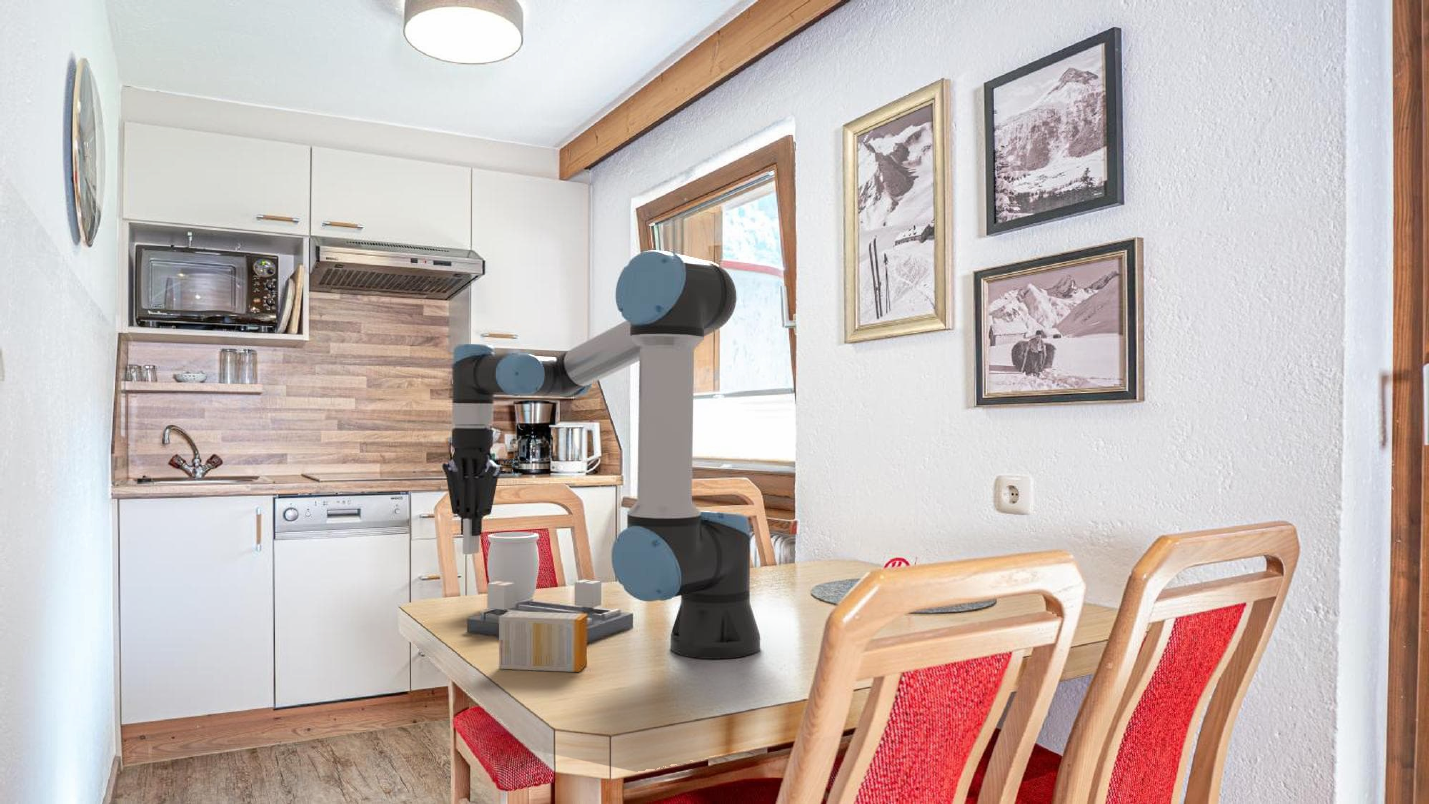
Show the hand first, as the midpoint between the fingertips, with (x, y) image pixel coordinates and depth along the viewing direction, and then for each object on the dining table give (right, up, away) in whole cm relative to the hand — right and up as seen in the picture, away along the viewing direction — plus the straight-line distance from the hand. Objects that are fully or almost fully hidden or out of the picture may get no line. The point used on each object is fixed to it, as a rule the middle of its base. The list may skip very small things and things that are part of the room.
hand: (470, 553), depth 174 cm
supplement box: (+26, -9, -30) cm, 41 cm away
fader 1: (+6, -11, -4) cm, 13 cm away
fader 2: (+22, -11, -2) cm, 25 cm away
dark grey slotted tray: (+16, -14, -3) cm, 21 cm away
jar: (+4, -14, +16) cm, 22 cm away
